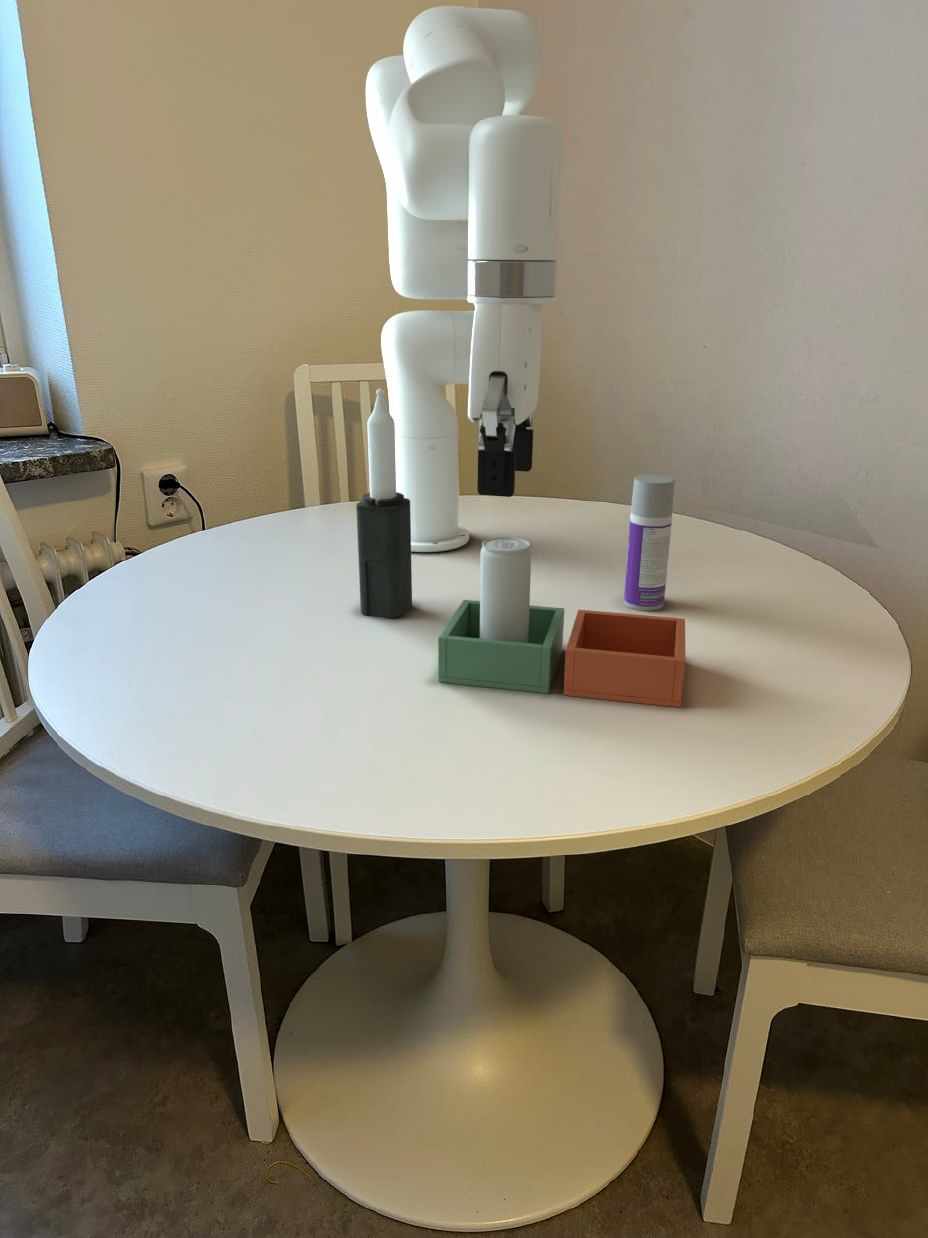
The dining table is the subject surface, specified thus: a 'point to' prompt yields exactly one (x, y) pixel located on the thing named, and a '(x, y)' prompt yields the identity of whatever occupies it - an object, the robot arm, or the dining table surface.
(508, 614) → the beverage can
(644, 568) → the container
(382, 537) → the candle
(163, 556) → the dining table surface
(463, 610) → the sage bin
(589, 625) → the terracotta bin
